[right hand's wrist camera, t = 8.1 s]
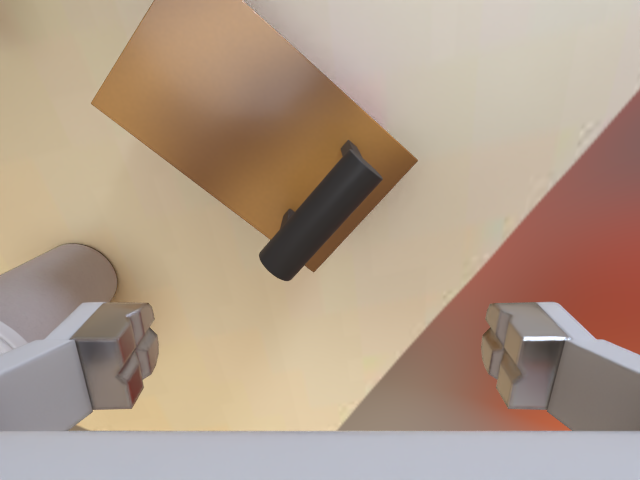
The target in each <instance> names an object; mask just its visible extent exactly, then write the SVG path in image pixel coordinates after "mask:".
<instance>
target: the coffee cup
mask: <svg viewBox="0 0 640 480" xmlns="http://www.w3.org/2000/svg"><path fill="white" fill-rule="evenodd" d="M116 289H117V277H116V273H115V271H114V269H113V267H112V265H111V264H110V262H109V261H108V260H107V259H106V258H105V257H104V256H103V255H102V254H101V253H99V252H98V251H96V250H94V249H92V248H90V247H88V246H85V245H80V244H65V245H61V246H58V247H56V248H54V249H52V250H50V251H48V252H46V253H44V254H42V255H40V256H38V257H36V258H34V259H32V260H30V261H28V262H26V263H24V264H22V265H20V266H18V267H16V268H14V269H12V270H10V271H8V272H5V273H3V274H1V275H0V355H1V354H4V353H6V352H8V351H11V350H13V349H16V348H18V347H20V346H23V345H25V344H27V343H30V342H32V341H35V340H44V339H45V338H46V337H47V336H48V335H49V334H50V333H51V332H52V331H53V330H54V329H55V328H56V327H57V326H58V325H59V324H60V323H61V322H63V321H64V320H65V319H66V318H67V317H68V316H69V315H70V314H71V313H72V312H73V311H74V310H75V309H76V308H77V307H78V306H79V305H80V304H81V303H86V302H106V303H107V302H110V301H111V299H112V298H113V296H114V294H115V292H116Z"/></svg>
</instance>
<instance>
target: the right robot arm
mask: <svg viewBox="0 0 640 480" xmlns="http://www.w3.org/2000/svg"><path fill="white" fill-rule="evenodd" d="M153 321H154V314H153V310H152V307H151V306H150V304H149V303H120V302H107V303H106V302H86V303H81V304H80V305H79V306H78V307H77V308H76V309H75V310H74V311H73V312H72V313H71V314H70V315H69V316H68V317H67V318H66V319H65V320H64V321H63V322H61V323H60V324H59V325H58V326H57V327H56V328H55V329H54V330H53V331H52V332H51V333H50V334H49V335H48V336H47V337H46V338H45V339H44V340H35V341H32V342H30V343H27V344H25V345H23V346H20V347H18V348H16V349H13V350H11V351H8V352H6V353H4V354H1V355H0V480H640V355H639V354H636V353H634V352H632V351H629V350H627V349H624V348H622V347H620V346H617V345H615V344H612V343H610V342H608V341H605V340H596V339H595V338H594V337H593V336H592V335H591V334H590V333H589V332H588V331H587V330H586V329H585V328H584V327H583V326H582V325H581V324H580V323H579V322H578V321H576V320H575V319H574V318H573V317H572V316H571V315H570V314H569V313H568V312H567V311H566V310H565V309H564V308H563V307H562V306H561V305H560V304H558V303H555V302H529V303H494V304H490V305H489V307H488V309H487V314H486V321H487V322H488V324H489V325H490V328H489V329H488V330H487V331H486V332H485V333H484V334H483V337H482V345H481V350H482V359H483V363H484V366H485V368H486V370H487V372H488V374H489V375H491V376H493V377H494V378H496V379H497V386H496V388H497V390H498V392H499V393H500V395H501V397H502V399H503V400H504V402H505V404H506V405H507V407H508V409H538V410H547V412H548V413H550V414H551V415H552V416H554V417H555V418H556V419H558V420H559V421H560V422H562V423H563V424H564V425H565V426H567V427H568V428H569V429H571V430H572V431H68V430H69V429H71V428H72V427H73V426H75V425H76V424H77V423H79V422H80V421H81V420H83V419H84V418H85V417H87V416H88V415H89V414H90V413H92V412H93V410H103V409H132V407H133V406H134V404H135V402H136V400H137V399H138V397H139V395H140V393H141V392H142V390H143V388H144V386H143V379H144V378H146V377H148V376H149V375H151V374H152V372H153V370H154V368H155V366H156V363H157V358H158V354H159V343H158V337H157V334H156V333H155V332H154V331H153V330H152V329H151V328H150V325H151V324H152V322H153Z"/></svg>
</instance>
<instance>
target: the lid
mask: <svg viewBox="0 0 640 480" xmlns="http://www.w3.org/2000/svg"><path fill="white" fill-rule="evenodd" d="M91 104H92V105H93V106H95V107H96V108H97V109H99V110H100V111H101V112H103V113H104V114H105V115H107V116H108V117H109V118H111V119H112V120H113V121H115V122H116V123H117V124H119V125H120V126H121V127H122V128H124V129H125V130H126V131H128V132H129V133H130V134H132V135H133V136H134V137H136V138H137V139H138V140H140V141H141V142H142V143H144V144H145V145H146V146H148V147H149V148H150V149H152V150H153V151H154V152H155V153H157V154H158V155H159V156H161V157H162V158H163V159H165V160H166V161H167V162H169V163H170V164H171V165H173V166H174V167H175V168H177V169H178V170H179V171H181V172H182V173H183V174H185V175H186V176H187V177H188V178H190V179H191V180H192V181H194V182H195V183H196V184H198V185H199V186H200V187H202V188H203V189H204V190H206V191H207V192H208V193H210V194H211V195H212V196H214V197H215V198H216V199H218V200H219V201H220V202H221V203H223V204H224V205H225V206H227V207H228V208H229V209H231V210H232V211H233V212H235V213H236V214H237V215H239V216H240V217H241V218H243V219H244V220H245V221H247V222H248V223H249V224H251V225H252V226H253V227H254V228H256V229H257V230H258V231H260V232H261V233H262V234H264V235H265V236H266V237H268V238H269V239H270V241H269V243H268V244H267V245H266V246H265V247H264V248H263V250H262V251H261V252H260V254H259V257H260V260H261V262H262V264H263V265H264V266H265V268H266V269H267V270H268V271H269V272H270V273H272V274H273V275H274V276H276V277H277V278H279V279H281V280H284V281H290V280H291V279H292V278H293V277H294V276H295V275H296V274H297V273H298V272H299V271H300V269H301V268H302V267H303V266H304V265H305V266H306V267H307V268H309V269H310V270H311V271H313V272H315V271H316V270H317V268H318V267H319V266H320V265H321V264H322V263H323V262H324V261H325V260H326V259H327V258H328V257H329V256H330V255H331V253H332V252H333V251H334V250H335V249H336V248H337V247H338V246H339V245H340V244H341V243H342V242H343V241H344V240H345V238H346V237H347V236H348V235H349V234H350V233H351V232H352V231H353V230H354V229H355V228H356V227H357V226H358V224H359V223H360V222H361V221H362V220H363V219H364V218H365V217H366V216H367V215H368V214H369V213H370V212H371V211H372V209H373V208H374V207H375V206H376V205H377V204H378V203H379V202H380V201H381V200H382V199H383V198H384V197H385V196H386V194H387V193H388V192H389V191H390V190H391V189H392V188H393V187H394V186H395V185H396V184H397V183H398V182H399V180H400V179H401V178H402V177H403V176H404V175H405V174H406V173H407V172H408V171H409V170H410V169H411V168H412V167H413V165H414V164H415V163H416V162H417V161H418V160H417V159H416V158H415V157H414V156H413V155H412V154H411V153H410V152H409V151H407V150H406V149H405V148H404V147H403V146H402V145H401V144H400V143H399V142H398V141H396V140H395V139H394V138H393V137H392V136H391V135H390V134H389V133H388V132H387V131H385V130H384V129H383V128H382V127H381V126H380V125H379V124H378V123H377V122H376V121H375V120H373V119H372V118H371V117H370V116H369V115H368V114H367V113H366V112H365V111H364V110H362V109H361V108H360V107H359V106H358V105H357V104H356V103H355V102H354V101H353V100H351V99H350V98H349V97H348V96H347V95H346V94H345V93H344V92H343V91H342V90H341V89H339V88H338V87H337V86H336V85H335V84H334V83H333V82H332V81H331V80H330V79H328V78H327V77H326V76H325V75H324V74H323V73H322V72H321V71H320V70H319V69H317V68H316V67H315V66H314V65H313V64H312V63H311V62H310V61H309V60H308V59H307V58H305V57H304V56H303V55H302V54H301V53H300V52H299V51H298V50H297V49H296V48H294V47H293V46H292V45H291V44H290V43H289V42H288V41H287V40H286V39H285V38H283V37H282V36H281V35H280V34H279V33H278V32H277V31H276V30H275V29H274V28H273V27H271V26H270V25H269V24H268V23H267V22H266V21H265V20H264V19H263V18H262V17H260V16H259V15H258V14H257V13H256V12H255V11H254V10H253V9H252V8H251V7H249V6H248V5H247V4H246V3H245V2H244V1H243V0H154V1H153V3H152V5H151V6H150V8H149V9H148V11H147V13H146V14H145V16H144V18H143V19H142V21H141V22H140V24H139V26H138V27H137V29H136V31H135V32H134V34H133V36H132V37H131V39H130V40H129V42H128V44H127V45H126V47H125V49H124V50H123V52H122V53H121V55H120V57H119V58H118V60H117V62H116V63H115V65H114V66H113V68H112V70H111V71H110V73H109V75H108V76H107V78H106V79H105V81H104V83H103V84H102V86H101V88H100V89H99V91H98V92H97V94H96V96H95V97H94V99H93V101H92V102H91Z"/></svg>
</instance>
